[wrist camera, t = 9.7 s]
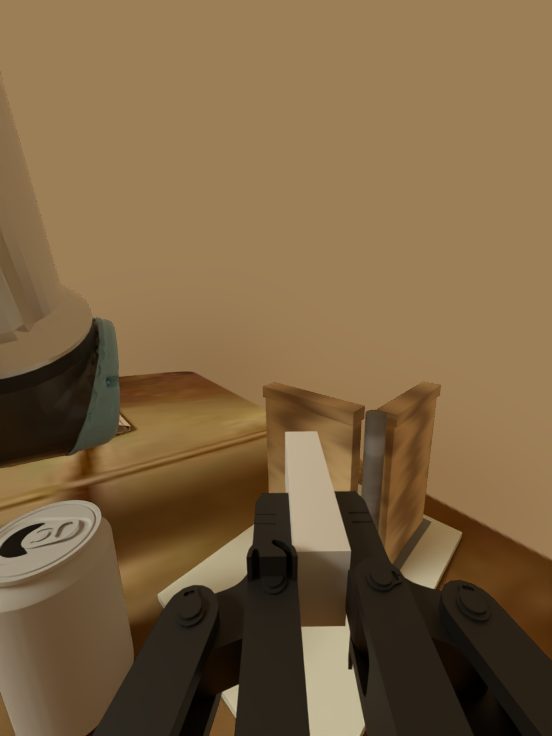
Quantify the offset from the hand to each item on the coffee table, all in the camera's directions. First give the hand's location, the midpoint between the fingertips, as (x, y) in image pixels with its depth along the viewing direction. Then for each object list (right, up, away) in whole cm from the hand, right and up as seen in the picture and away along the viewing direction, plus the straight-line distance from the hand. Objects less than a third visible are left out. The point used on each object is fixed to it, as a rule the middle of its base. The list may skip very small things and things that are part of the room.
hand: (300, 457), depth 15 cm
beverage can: (-14, -16, +5) cm, 22 cm away
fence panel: (+3, -13, +14) cm, 19 cm away
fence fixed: (+11, -13, +15) cm, 22 cm away
